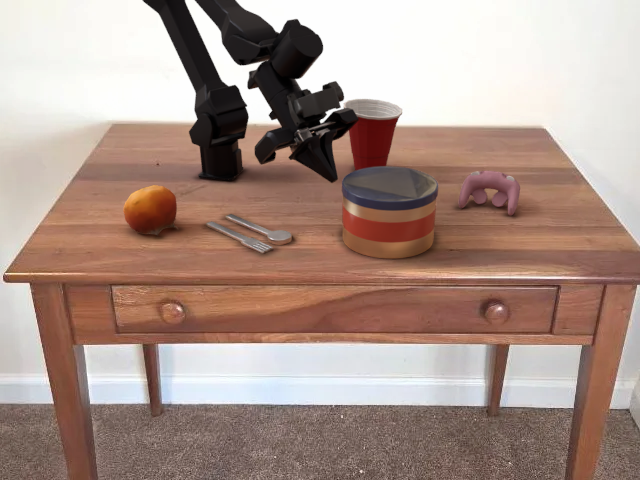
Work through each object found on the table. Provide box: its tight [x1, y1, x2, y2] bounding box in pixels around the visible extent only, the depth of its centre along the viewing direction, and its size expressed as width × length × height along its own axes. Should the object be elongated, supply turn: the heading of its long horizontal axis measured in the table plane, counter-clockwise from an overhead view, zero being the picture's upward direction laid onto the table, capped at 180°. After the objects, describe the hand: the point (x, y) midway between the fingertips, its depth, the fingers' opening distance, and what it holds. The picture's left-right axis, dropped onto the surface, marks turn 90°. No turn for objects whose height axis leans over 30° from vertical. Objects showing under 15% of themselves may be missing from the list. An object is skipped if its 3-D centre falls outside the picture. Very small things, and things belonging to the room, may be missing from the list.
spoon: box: [225, 213, 292, 246], centre depth 116 cm, size 14×4×1 cm, turn 49°
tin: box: [341, 165, 439, 260], centre depth 113 cm, size 14×14×9 cm
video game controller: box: [457, 170, 521, 216], centre depth 125 cm, size 10×5×7 cm, turn 71°
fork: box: [205, 220, 274, 255], centre depth 114 cm, size 14×2×1 cm, turn 49°
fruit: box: [122, 184, 179, 237], centre depth 115 cm, size 8×8×8 cm
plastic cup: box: [342, 98, 403, 171], centre depth 137 cm, size 11×11×12 cm
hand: (335, 181), depth 118 cm, fingers closed
